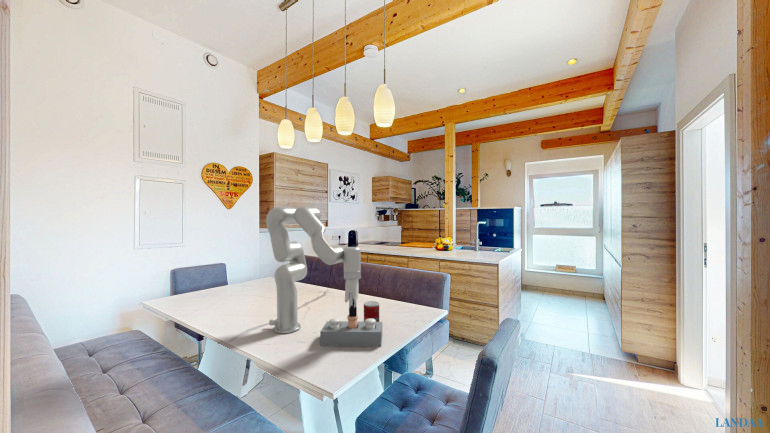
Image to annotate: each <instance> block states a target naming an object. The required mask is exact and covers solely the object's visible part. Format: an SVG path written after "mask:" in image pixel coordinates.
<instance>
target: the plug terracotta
mask: <svg viewBox="0 0 770 433" xmlns="http://www.w3.org/2000/svg"><path fill="white" fill-rule="evenodd" d="M358 319H359V317H358V314H357V315H356V317H349V314H348V315H347V322H348V329H357V322H358Z"/></svg>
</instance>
